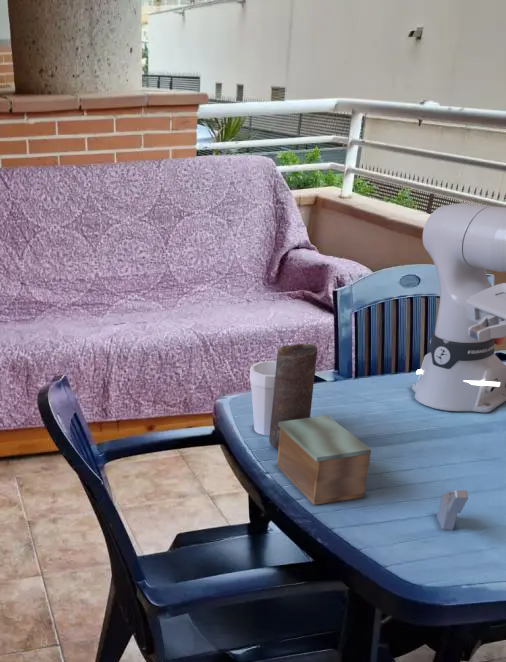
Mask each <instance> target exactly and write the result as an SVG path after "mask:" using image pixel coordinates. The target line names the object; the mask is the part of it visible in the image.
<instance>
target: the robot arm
mask: <svg viewBox="0 0 506 662" xmlns="http://www.w3.org/2000/svg"><path fill="white" fill-rule="evenodd" d="M421 238H422V245H423V248H424V249H425V251H426V252H427V254H428V255H429V256H430V257H431V260H432V262H433V264H434V267H435V270H436V275H437V278H438V286H439V305H438V309H437V310H438V311H437V316H436V323H435V328H434V329H435V330H434V332H432V334H431V338H430V340H429V348H428V351H429V352H427V354H425V355H424V357H423V360H422V364H421V367H420V369H417V370H416V373H415V374H416V375H418V378H417V381H416V382H415V383H413V384H412V387H411V390H412V391H413V392H414V399H415V400H416V401H417V402H418V403H420V404H421V405H424V406H426V407H429V408H432V409H436V410H441V411H448V412H474V413H475V412H476V413H490V412H492V411H493V410H495V409H496V408H497V407H499V406H501V405H502V404H504V403H505V402H506V364H505V363H504V362H503V361H502V360H501V359H500V358H499V357H498V356H497V355H496V354H495V346H501V345H502V344H503V342H504V339H505V337H506V282H502V283H498V284H495V285H492V284H491V283H490V281H489V279H488V275H487V270H488V271H494V272H497V273H506V206H495V205H494V206H493V205H492V206H491V205H483V204H476V203H468V202H460V203H450V204H445V205H441V206H439V207H438V208H436V209H435V210H434V211H433V212H432V213H431V214H430V215H429V217H428V218H427V219H426V222H425V224H424V226H423V230H422V237H421Z"/></svg>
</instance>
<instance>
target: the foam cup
mask: <svg viewBox="0 0 506 662" xmlns="http://www.w3.org/2000/svg"><path fill="white" fill-rule="evenodd" d="M276 362H277V360H265V361H259V362H256V363H253V364H252V365H251V366H250V368H249V382H250V390H251V401H252V403H251V404H252V416H253V417H252V418H253V428H254V432H256V433H257V434H259V435H263V436H268V437H269V436H270V425H271V416H272V405H273V396H274V384H275V373H276Z"/></svg>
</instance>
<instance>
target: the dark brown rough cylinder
mask: <svg viewBox="0 0 506 662" xmlns="http://www.w3.org/2000/svg"><path fill="white" fill-rule="evenodd" d="M276 354H277V355H276V361H277V362H276V373H275V384H274V396H273V405H272V416H271V425H270V436H269V435H268V437H269V439H268V441H269V444H270V446H271V447H273V449H277V450H278V446H279V434H280V427H279V426H278V422H282V421H289V420H296V419H304V418H311V415H312V414H311V412H312V403H313V392H314V386H315V385H314V384H315V376H316V367H317V366H316V365H317V361H318V347H317V346H315V345H314V344H312V343H304V344H303V343H296V344H292V345H289V344H288V345H282V346H280V347H279V348H278V350H277V353H276Z"/></svg>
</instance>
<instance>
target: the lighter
mask: <svg viewBox="0 0 506 662" xmlns="http://www.w3.org/2000/svg"><path fill="white" fill-rule="evenodd" d="M468 499H469V494H468V491H467V490H466V489H465V490H462V489H461V490H460V489H457V490H456V489H455V490H454V491H446V492H445V493H444V492H443V493H441V497H440V501H439V504H438V505H439V506H438V510H437V515H436V519H437V521H438V523H439V525H440V527H441V530H444V531H445V530H446V531H447V530H448V531H453V530H455V525H456V521H457V516H458V514H461V513H462V511H463V509H464V508H465V505H466V503H467V502H468Z"/></svg>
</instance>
